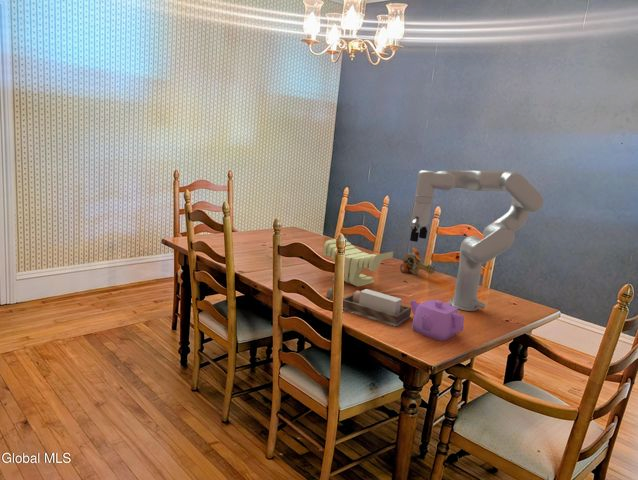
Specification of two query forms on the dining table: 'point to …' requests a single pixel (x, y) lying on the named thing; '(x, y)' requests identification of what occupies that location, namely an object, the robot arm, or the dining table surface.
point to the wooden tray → (376, 312)
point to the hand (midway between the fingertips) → (418, 239)
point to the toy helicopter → (415, 263)
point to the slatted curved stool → (356, 262)
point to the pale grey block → (378, 301)
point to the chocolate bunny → (330, 291)
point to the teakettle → (436, 319)
